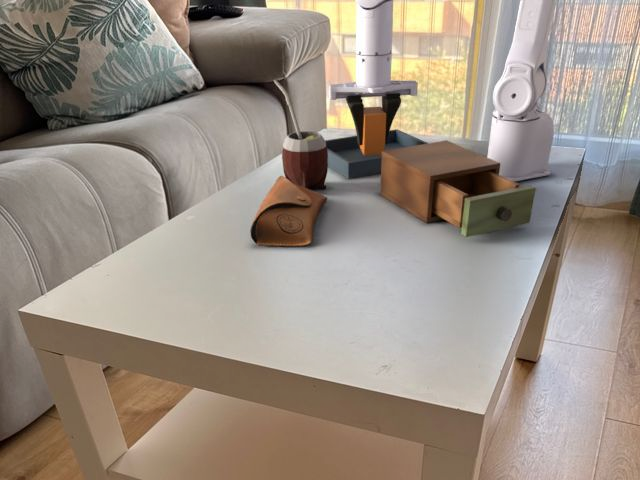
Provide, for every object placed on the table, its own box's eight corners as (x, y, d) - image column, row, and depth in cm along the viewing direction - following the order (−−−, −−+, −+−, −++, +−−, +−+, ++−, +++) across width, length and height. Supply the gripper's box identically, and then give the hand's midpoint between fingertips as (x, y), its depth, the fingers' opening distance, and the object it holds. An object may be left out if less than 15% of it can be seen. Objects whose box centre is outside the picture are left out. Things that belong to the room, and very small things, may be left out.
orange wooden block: (379, 146, 113) (381, 106, 108) (384, 154, 108) (386, 113, 104) (359, 147, 112) (360, 107, 108) (363, 155, 108) (364, 114, 104)
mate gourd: (328, 196, 98) (326, 88, 88) (277, 197, 98) (270, 89, 88) (328, 180, 104) (326, 77, 94) (280, 181, 104) (273, 79, 94)
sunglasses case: (315, 243, 82) (286, 198, 79) (271, 268, 85) (242, 226, 82) (329, 196, 96) (305, 156, 93) (291, 219, 99) (266, 181, 96)
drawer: (535, 226, 84) (542, 190, 81) (471, 240, 81) (476, 203, 78) (475, 195, 94) (479, 162, 91) (415, 207, 91) (418, 173, 88)
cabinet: (494, 209, 91) (500, 163, 87) (426, 223, 88) (430, 176, 84) (442, 182, 101) (446, 140, 97) (380, 194, 98) (381, 151, 94)
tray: (396, 143, 119) (397, 129, 118) (437, 162, 109) (438, 147, 108) (313, 156, 114) (312, 142, 113) (348, 178, 104) (348, 163, 102)
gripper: (331, 59, 98) (332, 151, 106) (424, 55, 98) (418, 147, 107) (326, 52, 103) (328, 140, 112) (414, 47, 104) (409, 136, 112)
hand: (371, 143), depth 110 cm, fingers closed on orange wooden block, 3 cm apart
